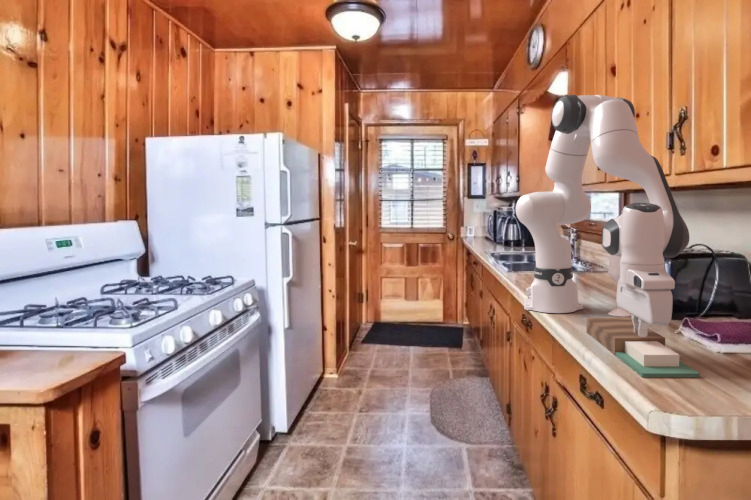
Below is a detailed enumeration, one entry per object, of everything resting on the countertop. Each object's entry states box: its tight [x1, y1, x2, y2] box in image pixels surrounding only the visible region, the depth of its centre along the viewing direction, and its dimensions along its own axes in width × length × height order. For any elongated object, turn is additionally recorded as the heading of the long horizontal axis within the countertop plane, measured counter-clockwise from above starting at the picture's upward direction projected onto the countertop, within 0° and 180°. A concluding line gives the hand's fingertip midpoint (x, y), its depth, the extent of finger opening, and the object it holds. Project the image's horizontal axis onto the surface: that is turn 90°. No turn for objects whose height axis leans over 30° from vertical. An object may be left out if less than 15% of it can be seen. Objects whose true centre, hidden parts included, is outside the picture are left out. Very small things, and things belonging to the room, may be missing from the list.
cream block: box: [625, 341, 680, 366], centre depth 106 cm, size 10×7×2 cm
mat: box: [615, 352, 701, 378], centre depth 104 cm, size 14×11×1 cm
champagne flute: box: [607, 254, 631, 317], centre depth 150 cm, size 7×7×24 cm
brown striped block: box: [586, 316, 666, 356], centre depth 121 cm, size 20×11×4 cm, turn 174°
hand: (640, 335), depth 110 cm, fingers closed
